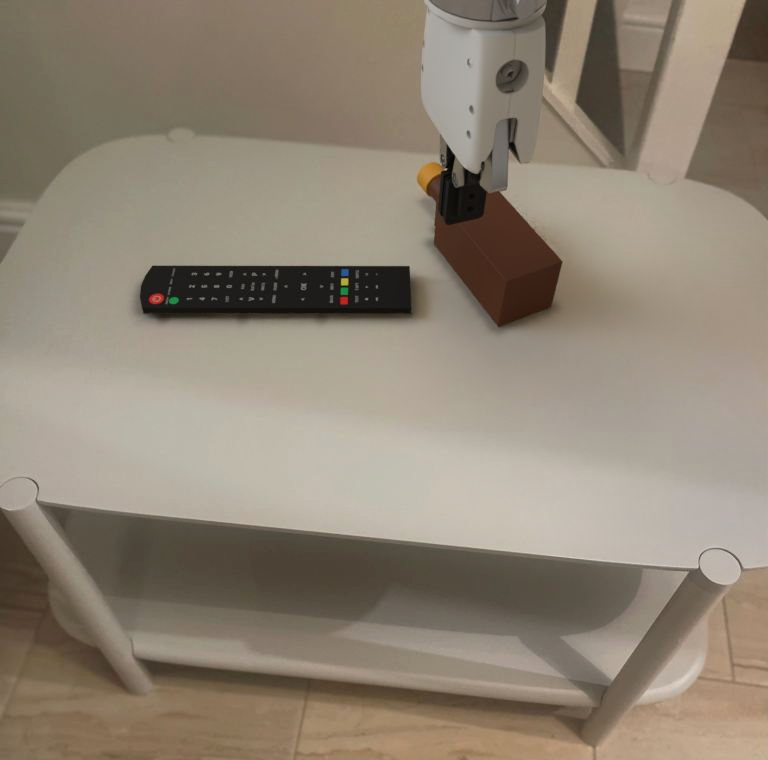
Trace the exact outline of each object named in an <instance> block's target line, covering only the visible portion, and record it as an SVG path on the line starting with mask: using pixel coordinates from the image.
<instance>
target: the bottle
mask: <svg viewBox="0 0 768 760" xmlns="http://www.w3.org/2000/svg"><path fill="white" fill-rule="evenodd" d="M445 170H446V169H443V168H442V166H441V163H438V162H435V161H431V162H427V163H426V164H425V165H424V164H423V166H422V167H421V168H420V169H419V171H418V172H417V175H416V181H417V185H418V186H419V187H420V188H421V189H422V191H424V193H425V194H426V195H427V196H428V197H430V198H432V200H434V202H435V211H434V212H435V213H434V237H433V245H434V246H435V247H436V248H437V250H438V251H439V253H440V254H441V255H442V256H443V258H444V259H445V261H447V263H448V264H449V265H450V267H451V268H452V269H453V271H454V272H455V273H456V275H457V276H458V278H460V280H461V281H462V282H463V284H464V285H465V286H466V287H467V289H468V290H469V291H470V292H471V294H472V295H473V296H474V298H475V299H476V300H477V302H478V303H479V304H480V305H481V307H482V308H483V309H484V311H485V312H486V313H487V314H488V316H489V317H490V318H491V320H492V321H493V322H494V324H495V325H496V326H497V327H498V328H499V327H501V326H504V325H507V324H509V323H512V322H516V321H518V320H521V319H523V318H525V317H529V316H531V315H534V314H537V313H540V312H542V311H544V310H545V311H546V310H548V309H550V308H552V305H553V301H554V297H555V295H556V294H555V293H556V289H557V286H558V282H559V278H560V274H561V270H562V267H563V262H564V261H563V260H562V259H561V258H560V257H559V256H558V255H557V254H556V252H555V251H554V250H553V249H552V248H551V247H550V246H549V245H548V243H547V242H546V241H545V240H544V239H543V238H542V236H541V235H539V234H538V232H537V231H536V230H535V229H534V227H532V225H530V224H529V222H528V221H527V220H526V219H525V218H524V217H523V216H522V214H521V213H520V212H519V211H518V210H517V209H516V208H515V207H514V206H513V205H512V203H510V201H509V200H508V199H507V198H506V197H505V196H504V195H503V193H501V191H500V192H496V193H491V194H489V193H488V192H487V194H486V201H485V208H484V214H483V216H482V217H481V218H478V219H474V220H470V221H465V222H461V223H457V224H452V225H447V224H446V223H445V221H444V220H443V216H441V215H440V213H439V211H438V202H439V190H440V178H441V171H445Z"/></svg>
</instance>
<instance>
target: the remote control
mask: <svg viewBox="0 0 768 760" xmlns="http://www.w3.org/2000/svg"><path fill="white" fill-rule="evenodd" d="M411 291H412V290H411V267H410V265H151V267H150V268H149V269H148V271H147V272H146V274H145V275H144V277H143V280H142V283H141V285H140V291H139V300H140V306H141V309H142V313H143V314H215V315H216V314H218V315H219V314H220V315H221V314H222V315H223V314H227V315H228V314H230V315H231V314H233V315H234V314H236V315H237V314H252V315H254V314H257V315H258V314H260V315H261V314H262V315H263V314H266V315H267V314H273V315H274V314H275V315H277V314H285V315H286V314H291V315H294V314H297V315H298V314H301V315H302V314H305V315H306V314H308V315H309V314H311V315H312V314H313V315H314V314H316V315H317V314H318V315H319V314H320V315H322V314H323V315H325V314H327V315H329V314H330V315H331V314H332V315H333V314H335V315H336V314H337V315H339V314H340V315H341V314H343V315H344V314H345V315H347V314H348V315H350V314H352V315H353V314H354V315H355V314H356V315H357V314H358V315H359V314H361V315H363V314H365V315H367V314H368V315H369V314H371V315H376V314H377V315H378V314H379V315H382V314H383V315H389V314H391V315H394V314H395V315H398V314H400V315H401V314H402V315H403V314H404V315H405V314H408V315H409V314H412V292H411Z"/></svg>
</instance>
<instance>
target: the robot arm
mask: <svg viewBox="0 0 768 760" xmlns="http://www.w3.org/2000/svg"><path fill="white" fill-rule="evenodd" d="M423 2H424V5H425V7H426V14H425V22H424V31H423V42H422V51H421V52H422V53H421V66H420V69H421V70H420V97H421V98H420V99H421V101H422V105H423V108H424V110H425V111H426V113H427V115H428V117H429V118H430V120H431V122H432V124H433V125H434V126H435V128H436V129H437V131H438V132H439V162H440V163H439V164H440V165H441V166H442V168H443V169H444V170H445V171H441V178H440V190H439V202H438V211H439V213H440V215H441V216H443V220H444V221H445V223H446V224H447V225H452V224H457V223H461V222H465V221H470V220H474V219H478V218H481V217H482V216H483V214H484V208H485V201H486V194H487V192H488V193H489V194H491V193H496V192H500V193H501V192H505V191H507V190H508V185H509V156H510V152H511V153H512V155H513V156H514V158H515V159H516V160H517V162H518V163H519V165H524V164H529V163H531V161H532V160H533V157H534V154H535V149H536V144H537V139H538V132H539V126H540V125H539V124H540V119H541V110H542V103H543V93H544V84H545V83H544V82H545V70H546V47H547V41H546V40H547V39H546V21H545V19H544V17H543V14H544V12H545V10H546V7H547V2H548V0H423ZM509 151H510V152H509Z"/></svg>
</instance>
